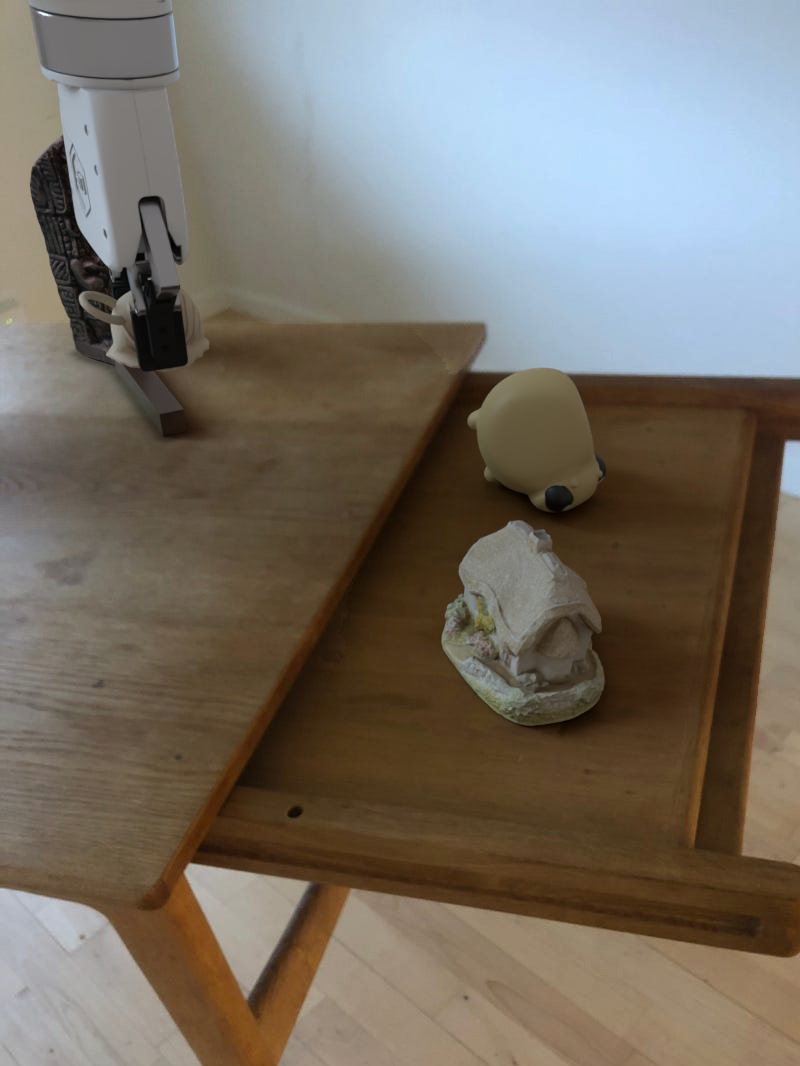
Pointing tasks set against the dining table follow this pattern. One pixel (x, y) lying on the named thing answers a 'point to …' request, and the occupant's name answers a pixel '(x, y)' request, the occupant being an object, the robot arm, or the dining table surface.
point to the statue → (71, 252)
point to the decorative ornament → (123, 331)
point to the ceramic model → (524, 629)
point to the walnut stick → (154, 399)
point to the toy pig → (539, 439)
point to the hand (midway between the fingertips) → (153, 350)
